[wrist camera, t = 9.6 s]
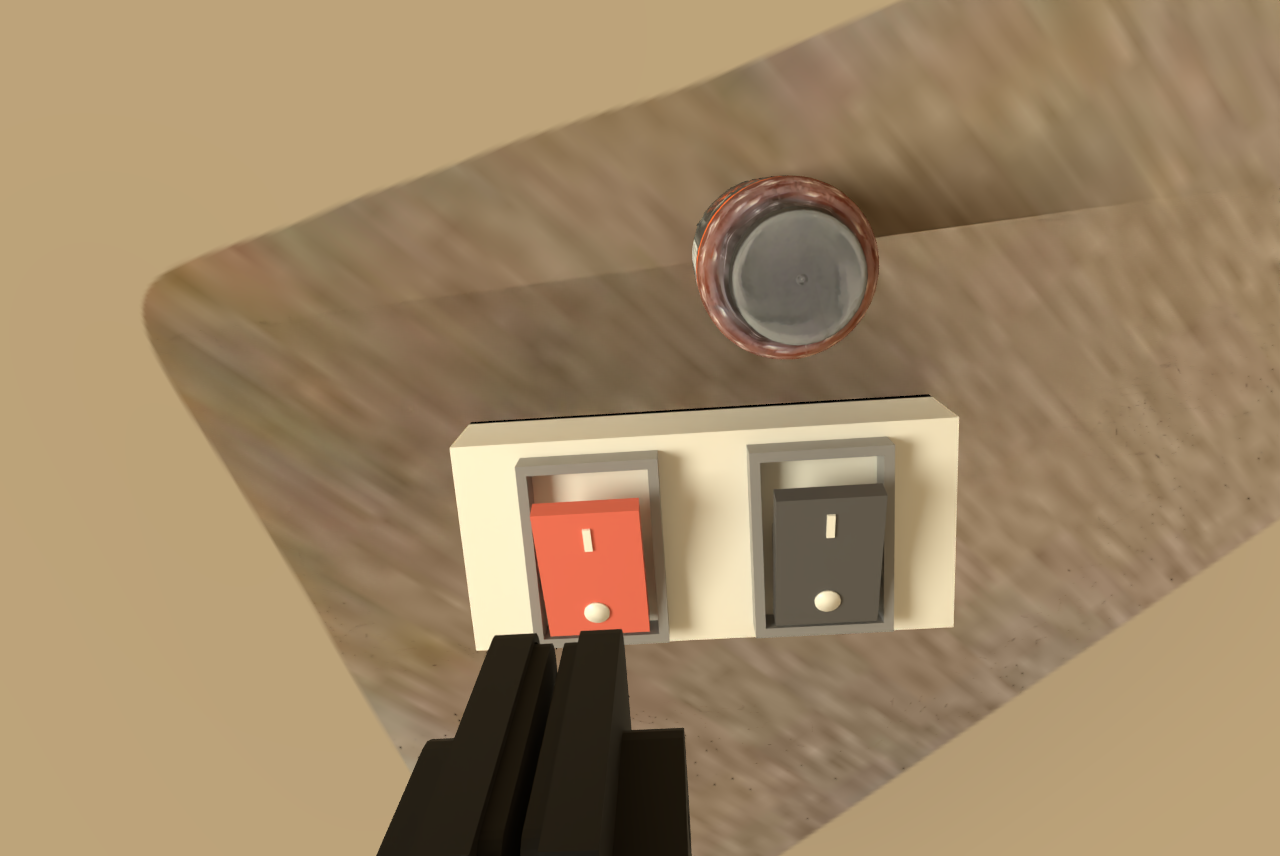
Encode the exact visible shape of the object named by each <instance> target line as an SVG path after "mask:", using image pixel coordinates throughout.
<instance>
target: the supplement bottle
mask: <svg viewBox="0 0 1280 856" xmlns="http://www.w3.org/2000/svg"><path fill="white" fill-rule="evenodd" d="M692 259H693V269H694V274H695V278H696V281H697V285H698V290H699V293H700V296H701V299H702V302H703V304H704V307H705V309H706V311H707V313H708V314H709V316H710V318H711V319H712V321H713V322H714V323H715V325H716V326H717V327H718V329H719V330H720V331H721V332H722V333H723V334H724V335H725V336H726V337H727V338H728V339H729V340H731V341H732V342H733V343H735V344H736V345H738V346H739V347H741V348H742V349H744V350H746V351H749V352H751V353H753V354H756V355H759V356H763V357H768V358H772V359H798V358H803V357H807V356H811V355H814V354H817V353H819V352H822V351H824V350H826V349H828V348H830V347H832V346H833V345H835V344H836V343H838V342H839V341H841V340H842V339H843V338H845V337H846V336H847V335H848V334H849V333H850V332H851V331H852V330H853V329H854V328H855V327H856V325H857V324H858V323H859V322H860V320H861V319H862V318H863V316H864V315H865V313H866V311H867V309H868V307H869V305H870V303H871V301H872V298H873V296H874V293H875V290H876V285H877V280H878V275H879V256H878V248H877V242H876V239H875V236H874V233H873V231H872V228H871V226H870V224H869V222H868V220H867V219H866V217H865V215H864V214H863V213H862V212H861V210H860V209H859V208H858V206H857V205H856V204H855V203H854V202H853V201H852V200H851V199H850V198H849V197H847V196H846V195H845V194H844V193H843V192H841V191H840V190H838V189H837V188H835V187H833V186H831V185H829V184H827V183H824V182H822V181H819V180H816V179H812V178H808V177H802V176H771V177H767V178H759V179H752V180H750V181H745V182H742V183H740V184H738V185H736V186H734V187H732V188H730V189H729V190H727V191H726V192H725V193H723V194H722V195H721V196H720V197H719V198H718V199H716V200H715V201H714V202H713V203H712V204H711V206H710V207H709V208H708V209H707V210H706V212H705V213H704V215H703V217H702V219H701V220H700V222H699V223H698V224H697V230H696V234H695V238H694V243H693V252H692Z"/></svg>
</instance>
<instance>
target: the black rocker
mask: <svg viewBox="0 0 1280 856" xmlns="http://www.w3.org/2000/svg"><path fill="white" fill-rule="evenodd" d="M887 498H888V495H887V493H886V490H885V488H884V485H883V483H876V484H858V485H841V486H823V487H806V488H788V489H773V523H772V550H773V614H774V620H775V625H776V626H781V625H801V624H821V623H842V622H862V621H877V619H878V606H879V594H880V582H881V570H882V558H883V546H884V534H885V522H886V510H887Z"/></svg>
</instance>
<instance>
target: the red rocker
mask: <svg viewBox="0 0 1280 856" xmlns="http://www.w3.org/2000/svg"><path fill="white" fill-rule="evenodd" d="M530 521H531V527H532V532H533V538H534V544H535V550H536V555H537V561H538V567H539V573H540V578H541V584H542V590H543V596H544V601H545V607H546V613H547V619H548V624H549V630H550V636H571V635H579V634H580V631H589V630H609V629H622V631H623V633H631V632H650V614H649V603H648V592H647V581H646V571H645V560H644V549H643V538H642V527H641V516H640V505H639V498H626V499H608V500H591V501H573V502H555V503H538V504H532V508H531V513H530Z"/></svg>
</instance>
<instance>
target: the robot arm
mask: <svg viewBox="0 0 1280 856" xmlns="http://www.w3.org/2000/svg"><path fill="white" fill-rule="evenodd" d="M376 856H692V854H691V833H690V814H689V796H688V780H687V765H686V749H685V735H684V728H671V729H648V730H631V719H630V707H629V695H628V683H627V671H626V659H625V647H624V637H623V631H622V629H609V630H589V631H580V634H579V639H578V642H570V643H564V647H563V651H562V656H561V660H560V665H559V669H558V674H557V664H556V655H555V649H554V645H553V643H550V644H540V641H539V637H538V635H537V633H529V634H509V635H495V636H494V637H493V639H492V642H491V644H490V647H489V649H488V652H487V655H486V657H485V660H484V662H483V665H482V668H481V670H480V673H479V675H478V678H477V681H476V683H475V686H474V688H473V691H472V693H471V696H470V699H469V701H468V704H467V706H466V709H465V712H464V714H463V717H462V719H461V722H460V725H459V727H458V730H457V732H456V735H455V738H448V739H431V740H429V741H427V743H426V744H425V746H424V748H423V749H422V752H421V754H420V756H419V759H418V761H417V763H416V766H415V768H414V770H413V772H412V775H411V777H410V779H409V782H408V784H407V786H406V789H405V791H404V793H403V795H402V798H401V800H400V802H399V805H398V807H397V810H396V812H395V814H394V816H393V819H392V821H391V823H390V826H389V828H388V830H387V832H386V835H385V837H384V839H383V842H382V844H381V846H380V848H379V851H378V853H377V855H376Z"/></svg>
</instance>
